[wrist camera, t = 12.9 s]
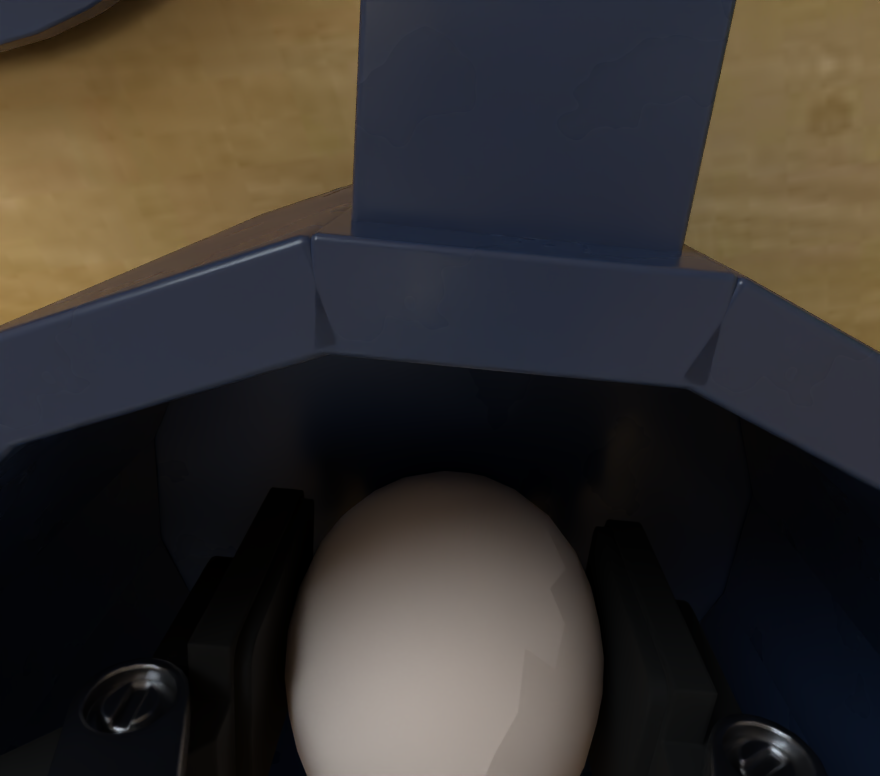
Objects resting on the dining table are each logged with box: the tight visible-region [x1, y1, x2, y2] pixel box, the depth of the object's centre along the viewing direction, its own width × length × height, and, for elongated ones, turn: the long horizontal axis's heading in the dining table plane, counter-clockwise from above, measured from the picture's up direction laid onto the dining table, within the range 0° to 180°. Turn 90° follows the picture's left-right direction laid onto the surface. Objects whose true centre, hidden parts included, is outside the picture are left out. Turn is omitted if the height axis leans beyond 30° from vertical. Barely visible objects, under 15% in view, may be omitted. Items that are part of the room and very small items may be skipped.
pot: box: [0, 0, 880, 776], centre depth 11 cm, size 14×19×8 cm
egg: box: [284, 471, 604, 776], centre depth 11 cm, size 5×5×7 cm
